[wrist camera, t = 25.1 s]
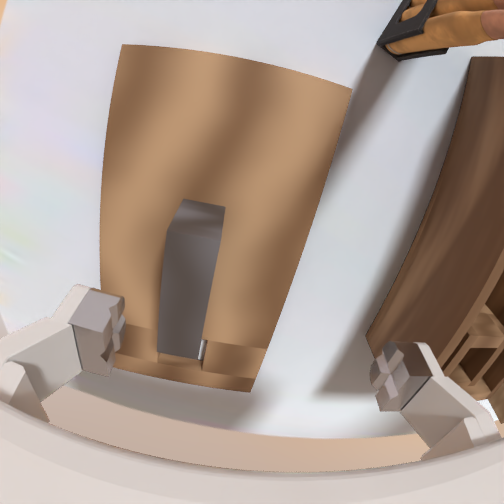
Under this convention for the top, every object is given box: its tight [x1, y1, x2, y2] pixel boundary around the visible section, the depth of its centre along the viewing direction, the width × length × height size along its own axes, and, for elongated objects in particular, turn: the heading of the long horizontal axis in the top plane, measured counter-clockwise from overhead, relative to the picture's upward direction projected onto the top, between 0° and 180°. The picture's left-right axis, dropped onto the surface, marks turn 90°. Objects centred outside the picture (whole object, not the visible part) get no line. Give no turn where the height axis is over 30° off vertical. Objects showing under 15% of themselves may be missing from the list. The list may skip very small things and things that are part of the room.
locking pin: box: [488, 383, 504, 424], centre depth 23 cm, size 3×3×10 cm
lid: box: [100, 44, 353, 392], centre depth 18 cm, size 13×25×6 cm, turn 167°
